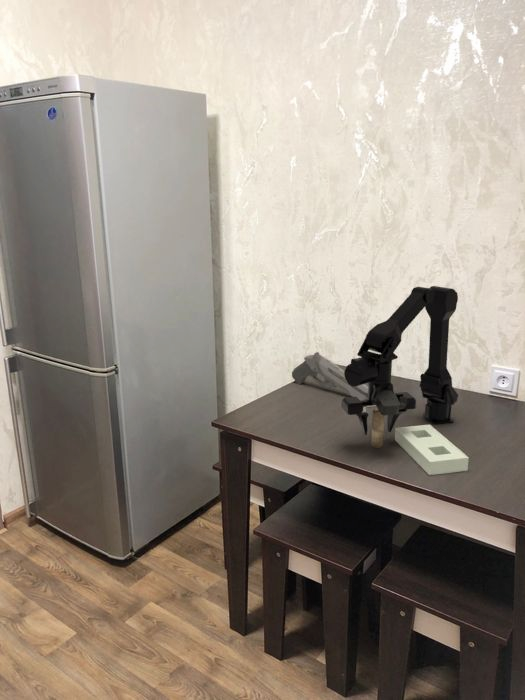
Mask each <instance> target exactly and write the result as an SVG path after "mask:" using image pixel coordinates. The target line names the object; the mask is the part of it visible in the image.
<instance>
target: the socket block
mask: <svg viewBox="0 0 525 700" xmlns="http://www.w3.org/2000/svg"><path fill="white" fill-rule="evenodd" d="M394 431H395V432H394V441H396V443H397V444H398V445H399V446H400V447H401V448H402V449H403V450H404V451H405V452H406V453H407V454H408V455H409V456H410V457H411V458H412V460H414V461H415V462H416V464H418V465H419V467H421V468H422V469H423V470H424V471H425V472H426V474H428V475H429V476H435V475H442V474H443V475H444V474H451V473H459V472H467V471H468V468H469V458H470V457H468V456H467V455H466V454H465V453H464V452H463V451H462V450H461V449H460V448H458V447H456V446H455V444H453V443H452V442H451V441H450V440H448V439H447V438H446V437H445V435H443V434H441V433H440V432H439V431H438V430H437V429H436V428H434V427H433V426H432V425H431V424H422V425H410V426H402V427H401V426H400V427H395V430H394Z"/></svg>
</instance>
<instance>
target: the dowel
mask: <svg viewBox="0 0 525 700" xmlns="http://www.w3.org/2000/svg"><path fill="white" fill-rule="evenodd" d="M371 411H372V414H371V417H372V418H371V435H370V436H371V440H370V443H371V444H370V445H371V447H372V448H377V449H378V448H379V449H380V448H382V447H383V445H384V444H383V441H384V439H383V438H384V427H385V425H384V421H385V415H381V414H380V413H379V410H378V408H377V407H375V408H372V410H371Z"/></svg>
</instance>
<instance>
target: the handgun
mask: <svg viewBox="0 0 525 700" xmlns="http://www.w3.org/2000/svg"><path fill="white" fill-rule="evenodd" d="M303 360H304V361H303V362H302V363H300V364H298V365H297V366H295V368H293V370H291V371H292V372H291V377H292V379H293V380H294V381H295V382H296V384H297V385H302V384H304V383H305V381H306V379H307V378H308V377H309V376H310V377H311V378H312V379H311V380H313V381H314V382H316V383H318V384H319V385H321V386H322V387H323V388H325V389H327V390H329V389H331V388H333V389H335V388H337V387H338V388H339V389H340V390H342V391H344V392H345V393H346V394H348V395H349V396H350V397H357V398H358V399H359V400H360V401H362V400H368V398H367V397H366V393H368V384H367V385H366V383H365V384H362V385H359V386H356V387H353V386H351V385H349V384H348V382H347V381H346V379H345V375H344V371H345V369H343V368H341V367H340V366H338V365H337V364H336V363H334V362H333V361H332V360H329V359H328V358H326V357H325V356H323V355H322V354H320V352H319V351H318V352H317V351H316V352H314V354H310V355H306V356H305V357H304V359H303ZM318 374H319V375H320V376H321V377H323V378H324V380H321V378H318Z"/></svg>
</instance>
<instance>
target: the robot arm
mask: <svg viewBox="0 0 525 700" xmlns="http://www.w3.org/2000/svg"><path fill="white" fill-rule="evenodd" d="M458 301H459V296H458V292H457V291H456V290H455V289H454V288H451V287H443V286H438V285H437V286H436V285H431V286H430V287H423V286H416V287H413V288H412V289H411V291H410V294H409V295H408V296H407V297H406V299H405V300H403V302H402V303H401V304H400V305H399V307H397V309H396V310H395V311H394V312H393V313H392V314H391V315H390V317H389V318H388V319H387V320H385V321H382V322H380V323H378V324H376V325H375V326H373V327H372V328H371V329H370V330H369V331H368V332H367V334H366V335H365V338H364V340H363V342H362V344H361V345H360V348H359V350H358V353H357V356H358V357H356V358H355V357H353V358H351V359H350V363H349V364H347V366H346V367H345V369H344V375H345V379H346V381H347V382H348V384H349V385H351V386H353V387H356V386H359V385H362V384H365V385H366V384H367V386H368V393H366V397H367V398H368V400H362V401H360V400H359V399H358V398H357V397H352V396H348V397H346V396H345V397H343V398H342V400H341V403H340V404H341V405H340V406H341V408H342V410H343V411H344V412H345V413H346V414H347V415H349V416H352V415H353V416H354V415H355V416H357V418H358V421H359V423H360V425H361V429H362V431H363V434H364V436H367V435H368V417H369V413H368V412H367V408H368V409H369V408H378V410H379V413H380V414H381V415H384V416H387V419H386V420H387V422H386V425H387V432H388V433H391V432H392V431H393V428H394V426H395V424H396V422H397V419H398V418H399V416H400V415H402V414H404V413H407V411H408V410H416V408H417V400H416V398H415V397H414V396H413V395H411V394H410V393H409V392H408V391H404V392H403V391H401V392H395V391H394V384H393V383H392V371H393V370H392V364H393V360H397V359H398V358H399V357H398V355H396V354H395V351H396V350H397V349H398V347H399V345H400V343H401V342H402V335H403V333H404V331H405V330H407V328H408V327H409V326H410V324H411V323H412V322H413V321H414V320H415V318H416V317H417V316H418V315H419V314H420V313H421V312H422V311H423V310H424V308H425V311H426V313H427V314H428V316H429V318H430V323H429V324H430V325H429V346H428V347H429V349H428V367H427V368H426V370H425V371H424V373H421V374H420V383H419V387H420V390H421V394H422V398H424V399H427V400H426V403H425V405H424V406H425V407H424V414H422V415H423V417H424V418H425V419H426V420H427V421H429V422H430V423H431V424H433V425H437V424H439V425H440V424H447V423H453V422H454V420H453V418H451V416H452V406H454V405H455V403H457V401H458V398H459V394H458V393H457V391H456V390H455V388H454V387H453V378H452V376H451V374H450V372H449V370H448V368H447V365H448V350H449V349H448V347H449V332H450V331H449V330H450V319H451V318H452V316H453V315H454V313H455V312H456V310H457V307H458V306H457V305H458Z"/></svg>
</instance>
